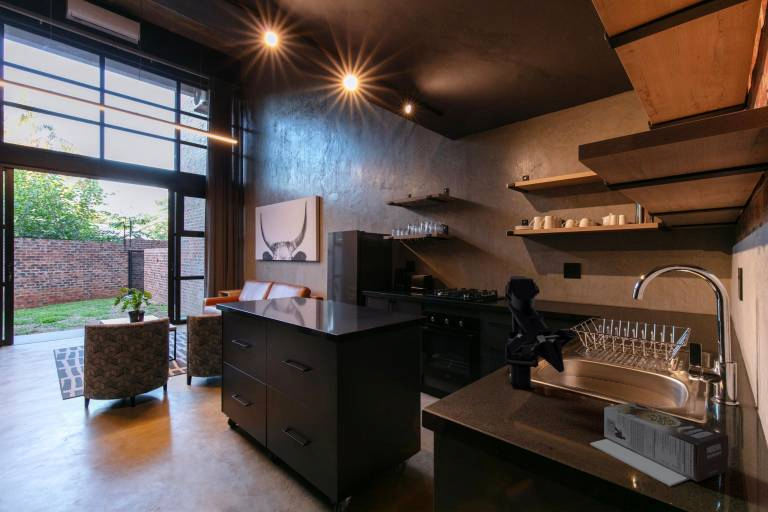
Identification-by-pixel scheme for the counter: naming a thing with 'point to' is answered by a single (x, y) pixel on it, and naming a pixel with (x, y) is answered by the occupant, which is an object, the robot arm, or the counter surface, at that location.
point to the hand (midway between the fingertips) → (562, 371)
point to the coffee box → (668, 440)
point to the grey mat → (640, 462)
